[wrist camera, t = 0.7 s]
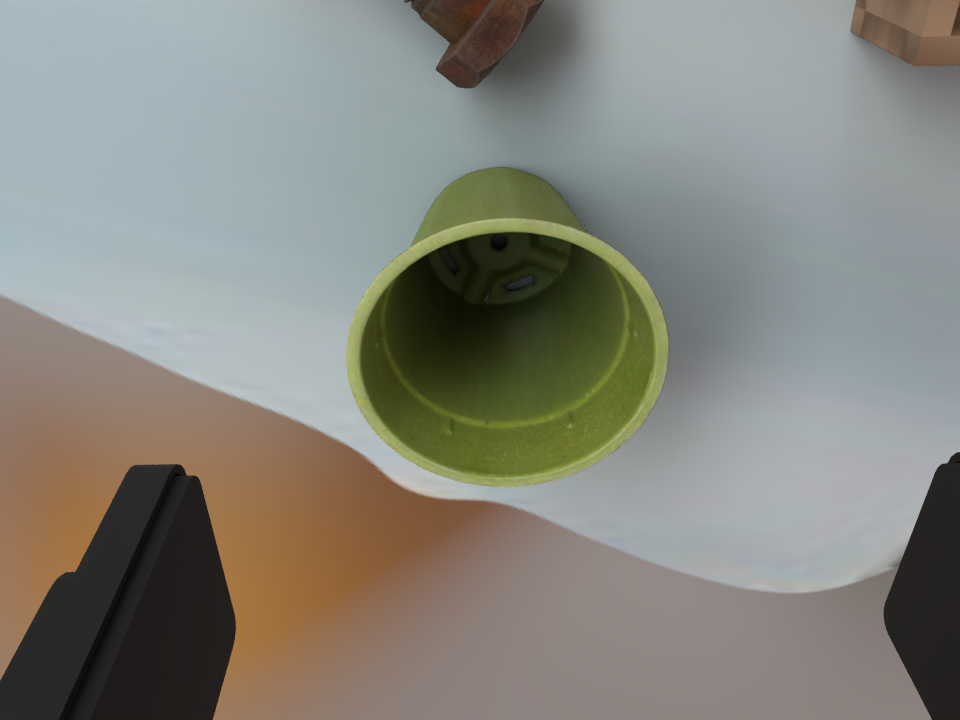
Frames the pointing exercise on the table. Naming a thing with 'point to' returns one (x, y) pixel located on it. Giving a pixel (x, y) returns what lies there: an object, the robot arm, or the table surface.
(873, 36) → the walled box
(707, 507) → the table surface
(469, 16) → the bolt
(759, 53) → the table surface
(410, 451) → the plant pot
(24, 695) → the robot arm
